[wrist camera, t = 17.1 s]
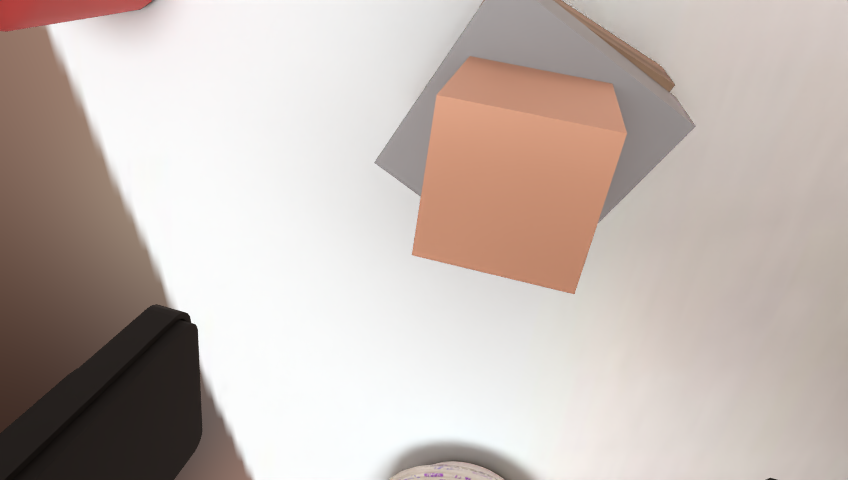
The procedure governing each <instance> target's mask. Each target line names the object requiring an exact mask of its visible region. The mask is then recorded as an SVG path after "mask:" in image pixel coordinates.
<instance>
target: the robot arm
mask: <svg viewBox="0 0 848 480" xmlns="http://www.w3.org/2000/svg"><path fill="white" fill-rule="evenodd" d="M201 414H202V413H201V391H200V369H199V347H198V329H197V326H196V324H193V323H191V319H190V316H189V315H188V313H185V312H182V311H178V310H175V309H171V308H168V307H164V306H161V305H152V306H150V307H149V308H147V309H146V310H145V311H144V312H143V313H141V315H139V316H138V317H137V318H136V319H135V320H133V321H132V322H131V323H130V324H129V325H128V326H127V327H125V328H124V329H123V330H122V331H121V332H120V333H118V334H117V335H116V336H115V337H114V338H113V339H112V340H110V341H109V342H108V343H107V344H106V345H105V346H104V347H102V348H101V349H100V350H99V351H98V352H97V353H95V354H94V355H93V356H92V357H91V358H90V359H89V360H87V361H86V362H85V363H84V364H83V365H82V366H80V367H79V368H78V369H76V370H74V371H73V372H72V373H70V374H69V375H67V376H66V377H65V378H64V379H63V380H62V381H60V382H59V383H58V384H57V385H56V386H55V387H54V388H52V389H51V390H50V391H49V392H48V393H47V394H45V395H44V396H43V397H42V398H41V399H40V400H38V401H37V402H36V403H35V404H34V405H33V406H32V407H30V408H29V409H28V410H27V411H26V412H25V413H23V414H22V415H21V416H20V417H19V418H18V419H16V420H15V421H14V422H13V423H12V424H11V425H10V426H8V427H7V428H6V429H5V430H4V431H3V432H1V433H0V480H174V479H175V478H176V476H177V475H178V474H179V472H180V471H181V469H182V468H183V467H184V465H185V464H186V463H187V461H188V460H189V458H190V457H191V456H192V454H193V453H194V452H195V450H196V448H197V446H198V444H199V442H200V439H201V435H202V415H201ZM766 480H776V479H772V478H769V479H766Z"/></svg>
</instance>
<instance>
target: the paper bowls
mask: <svg viewBox="0 0 848 480" xmlns="http://www.w3.org/2000/svg"><path fill="white" fill-rule="evenodd" d="M389 480H504V479H503V478H502V477H500V476H499V475H497V474H496V473H494V472H492V471H490V470H488V469H486V468H483V467H481V466H478V465H474V464H470V463H466V462H455V461H448V462H441V463H436V464H432V465H422V466H416V467H413V468H409V469H406V470H402V471H401V472H399V473H398V474H396V475H394V476H392V477H391V478H390V479H389Z"/></svg>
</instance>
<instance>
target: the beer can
mask: <svg viewBox="0 0 848 480" xmlns="http://www.w3.org/2000/svg"><path fill="white" fill-rule="evenodd" d="M150 2H152V0H0V31H13V30H19V29H24V28H30V27H37V26H43V25H49V24H55V23H61V22H67V21H74V20H80V19H86V18H92V17H98V16H104V15H110V14H116V13H122V12H128V11H134V10H140V9H141V8H143V7H144V6H146V5H147V4H149V3H150Z"/></svg>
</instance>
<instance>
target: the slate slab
mask: <svg viewBox="0 0 848 480" xmlns="http://www.w3.org/2000/svg"><path fill="white" fill-rule="evenodd" d="M469 56H472V57H477V58H482V59H488V60H493V61H498V62H503V63H508V64H513V65H519V66H524V67H529V68H534V69H539V70H545V71H550V72H555V73H560V74H565V75H570V76H576V77H581V78H586V79H591V80H596V81H602V82H607V83H612V84H613V87H614V91H615V94H616V97H617V101H618V104H619V108H620V111H621V114H622V118H623V121H624V125H625V128H626V131H627V135H626V138H625V141H624V144H623V147H622V151H621V154H620V157H619V160H618V163H617V166H616V169H615V172H614V175H613V178H612V181H611V184H610V187H609V190H608V193H607V196H606V199H605V202H604V205H603V208H602V211H601V214H600V218H599V221H598V223H599V222H600V221H601V220H602V219H603V218H604V217H605V216H606V215H607V214H608V213H609V212H610V211H611V210H612V209H613V208H614V207H615V206H616V205H617V204H618V203H619V202H620V201H621V200H622V199H623V198H624V197H625V196H626V195H627V194H628V193H629V192H630V191H631V190H632V189H633V188H634V187H635V186H636V185H637V184H638V183H639V182H640V181H641V180H642V179H643V178H644V177H645V176H646V175H647V174H648V173H649V172H650V171H651V170H652V169H653V168H654V167H655V166H656V165H657V164H658V163H659V162H660V161H661V160H662V159H663V158H664V157H665V156H666V155H667V154H668V153H669V152H670V151H671V150H672V149H673V148H674V147H675V146H676V145H677V144H678V143H679V142H680V141H681V140H682V139H683V138H684V137H685V136H686V135H687V134H688V133H689V132H690V131H691V130H692V129H693V128H694V127H695V125H694V123H693V122H692V120H691V119H690V117H689V116H688V114H687V113H686V111H685V110H684V109H683V107H682V106H681V104H680V103H679V101H678V100H677V98H676V97H675V96H673V95H672V94H671V93H670V92H668V91H667V90H666V89H665V88H663V87H662V86H661V85H660V84H658V83H657V82H656V81H654V80H653V79H652V78H651V77H649V76H648V75H647V74H646V73H644V72H643V71H642V70H641V69H639V68H638V67H637V66H636V65H634V64H633V63H632V62H630V61H629V60H628V59H627V58H625V57H624V56H623V55H622V54H620V53H619V52H618V51H617V50H615V49H614V48H613V47H612V46H610V45H609V44H608V43H606V42H605V41H604V40H603V39H601V38H600V37H599V36H598V35H596V34H595V33H594V32H593V31H591V30H590V29H589V28H588V27H586V26H585V25H584V24H582V23H581V22H580V21H579V20H577V19H576V18H575V17H574V16H572V15H571V14H570V13H569V12H567V11H566V10H565V9H564V8H562V7H561V6H560V5H559V4H557V3H556V2H555V1H553V0H484V2H483V3H482V5H481V6H480V8H479V9H478V11H477V12H476V14H475V15H474V16H473V18H472V19H471V21H470V22H469V24H468V25H467V27H466V28H465V30H464V31H463V33H462V34H461V36H460V37H459V39H458V40H457V42H456V43H455V44H454V46H453V47H452V49H451V50H450V52H449V53H448V55H447V56H446V58H445V59H444V61H443V62H442V64H441V65H440V67H439V68H438V69H437V71H436V72H435V74H434V75H433V77H432V78H431V80H430V81H429V83H428V84H427V86H426V87H425V89H424V90H423V92H422V93H421V95H420V96H419V97H418V99H417V100H416V102H415V103H414V105H413V106H412V108H411V109H410V111H409V112H408V114H407V115H406V117H405V118H404V120H403V121H402V123H401V124H400V125H399V127H398V128H397V130H396V131H395V133H394V134H393V136H392V137H391V139H390V140H389V142H388V143H387V145H386V146H385V148H384V149H383V151H382V152H381V153H380V155H379V156H378V158H377V159H376V161H375V162H374V163H376V164H377V165H378V166H380V167H381V168H382V169H384V170H385V171H386V172H388V173H389V174H391V175H392V176H393V177H395V178H396V179H397V180H399V181H400V182H402V183H403V184H404V185H406V186H407V187H408V188H410V189H411V190H413V191H414V192H415V193H417V194H418V195H419V196H421V193H422V186H423V180H424V173H425V167H426V160H427V154H428V147H429V141H430V134H431V128H432V121H433V115H434V108H435V102H436V95H437V94H438V92H439V91H440V90H441V89H442V88H443V87H444V85H445V84H446V83H447V82H448V81H449V80H450V78H451V77H452V76H453V75H454V74H455V73H456V72H457V70H458V69H459V68H460V67H461V66H462V65H463V63H464V62H465V61H466V60H467V59H468V58H469Z"/></svg>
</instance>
